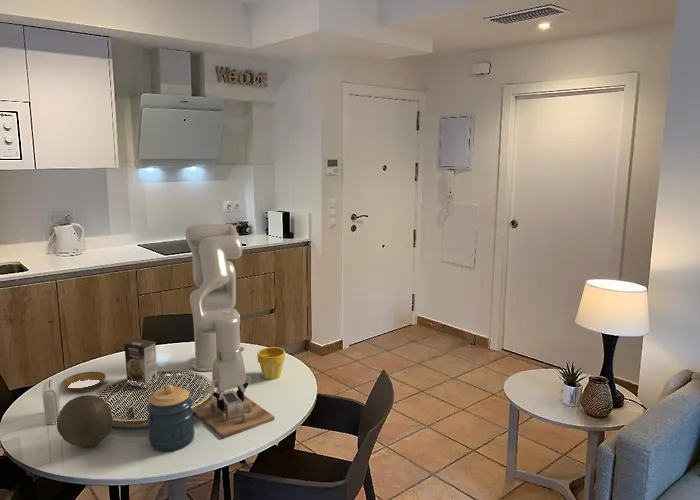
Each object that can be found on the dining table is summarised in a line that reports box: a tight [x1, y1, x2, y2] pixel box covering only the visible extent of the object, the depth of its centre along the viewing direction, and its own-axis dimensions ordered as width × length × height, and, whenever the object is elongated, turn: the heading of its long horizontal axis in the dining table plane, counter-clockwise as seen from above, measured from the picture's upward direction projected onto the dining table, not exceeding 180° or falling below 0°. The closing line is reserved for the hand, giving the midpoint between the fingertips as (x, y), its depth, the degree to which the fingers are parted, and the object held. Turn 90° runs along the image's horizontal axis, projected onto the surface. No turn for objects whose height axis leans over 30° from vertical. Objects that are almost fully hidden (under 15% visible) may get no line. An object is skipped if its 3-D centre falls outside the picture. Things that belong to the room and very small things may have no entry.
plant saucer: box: [60, 371, 107, 393], centre depth 197 cm, size 15×15×3 cm
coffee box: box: [123, 338, 158, 383], centre depth 197 cm, size 9×6×16 cm
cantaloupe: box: [56, 394, 114, 448], centre depth 156 cm, size 14×14×15 cm
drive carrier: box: [223, 389, 243, 419], centre depth 175 cm, size 10×5×5 cm, turn 29°
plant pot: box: [257, 346, 286, 380], centre depth 204 cm, size 10×10×10 cm
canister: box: [146, 384, 196, 452], centre depth 159 cm, size 13×13×18 cm
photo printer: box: [41, 378, 62, 425], centre depth 173 cm, size 10×4×12 cm, turn 26°
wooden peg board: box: [195, 390, 276, 439], centre depth 176 cm, size 24×18×4 cm
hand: (230, 405), depth 175 cm, fingers open, 6 cm apart
